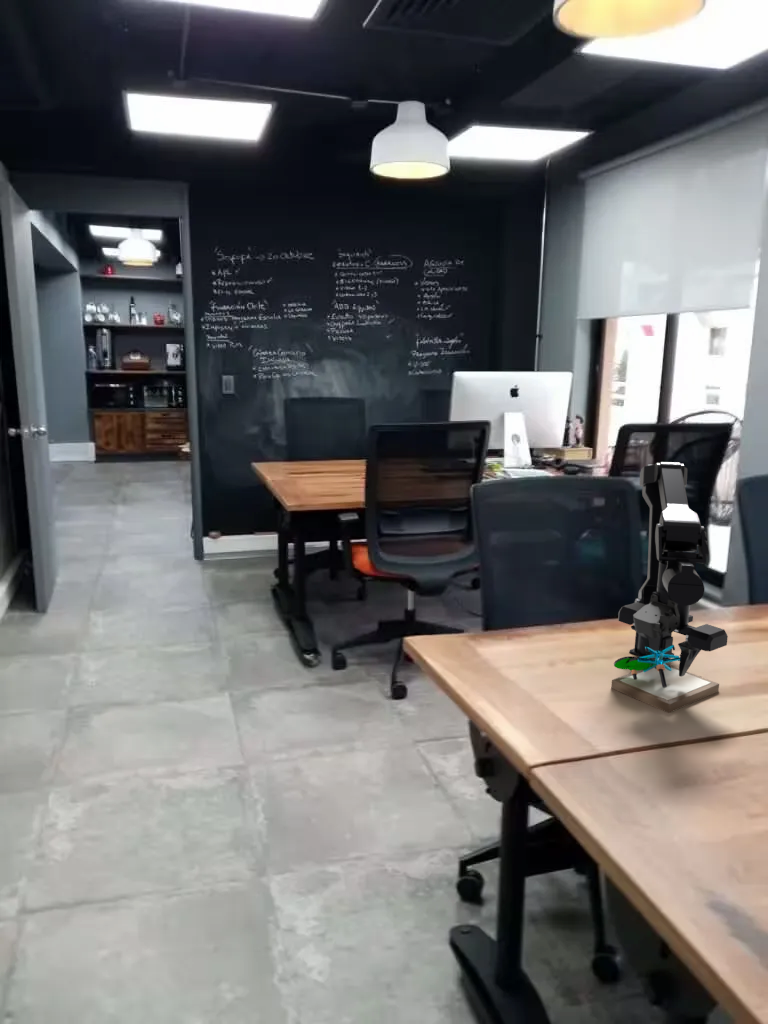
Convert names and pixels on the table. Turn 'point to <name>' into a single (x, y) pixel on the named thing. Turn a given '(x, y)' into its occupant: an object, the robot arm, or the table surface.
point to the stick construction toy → (648, 663)
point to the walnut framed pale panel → (667, 698)
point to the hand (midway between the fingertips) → (666, 670)
